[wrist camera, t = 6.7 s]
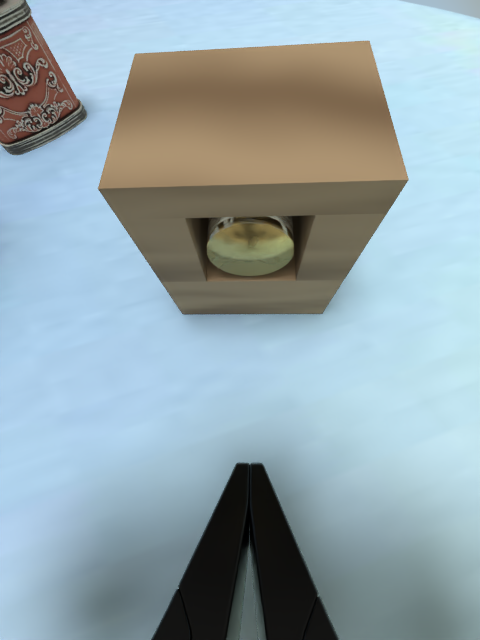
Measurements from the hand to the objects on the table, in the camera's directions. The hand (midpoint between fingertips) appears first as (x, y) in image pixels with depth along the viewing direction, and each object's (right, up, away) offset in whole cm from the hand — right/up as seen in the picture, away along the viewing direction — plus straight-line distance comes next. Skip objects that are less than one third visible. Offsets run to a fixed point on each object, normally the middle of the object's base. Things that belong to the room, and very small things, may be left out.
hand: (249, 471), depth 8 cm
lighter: (-18, +23, +16) cm, 33 cm away
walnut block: (0, +8, +10) cm, 13 cm away
